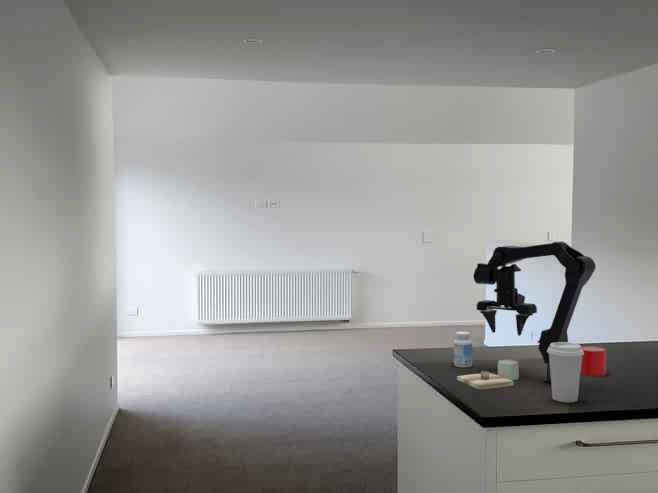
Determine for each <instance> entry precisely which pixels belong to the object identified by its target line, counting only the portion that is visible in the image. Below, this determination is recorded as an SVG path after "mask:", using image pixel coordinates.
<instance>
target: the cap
mask: <svg viewBox="0 0 658 493" xmlns="http://www.w3.org/2000/svg"><path fill="white" fill-rule="evenodd" d="M519 364H520V363H519V361H517V360H515V359H514V360H513V359H500V360H498V363H497V375H498V376H501V377H504V378H506V379H509V380H512V381H516V380H517V381H518V380H519V379H520V378H519V377H520V372H519V368H520V365H519Z"/></svg>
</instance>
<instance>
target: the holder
mask: <svg viewBox="0 0 658 493" xmlns="http://www.w3.org/2000/svg"><path fill="white" fill-rule="evenodd" d="M456 380H457V381H458V382H461V383H463V384H465V385H467V386H470V387H472V388H474V389H478V390H479V391H482V390H488V389H497V388H503V387H504V388H505V387H511V386H512V387H513V386H514V385H515V380H509V379H506V378H504V377H501V376H498V374H495V373H493V372H490V371H487V370H486V371H483V370H481V371H480V372H479V373H473V374H472V373H471V374H466V375H465V374H463V375H457V376H456Z"/></svg>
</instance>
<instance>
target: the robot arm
mask: <svg viewBox="0 0 658 493" xmlns="http://www.w3.org/2000/svg"><path fill="white" fill-rule="evenodd" d="M548 256H554V257H555V258H556V259H557V260H558V262H559V264H560V265H562V266H563V268H565V270H564V279H565V286H564V288H563V291H562V293H561V297H560V300H559V303H558V306H557V308H556V310H555V314H554V317H553V321H552V323H551V325H550V327H549V328H547V329H544V330H541V333H540V337H539V340H538V341H537V343H538V350H539V352H540V354H541V356H542V359H543V363H544V364H547V365H546V378H543V380H542V381H543V382H545V383H548V384H551V373H550V361H549V353H548V352H547V350H548V348H549V347H550V344H551V343H555V342H568V341H569V337H568V335H569V334H568V329H569V326H570V323H571V321H572V318H573V315H574V312H575V310H576V306H577V305H578V304H577V303H578V301H579V298H580V296H581V293H582V289H583V287H584V286H585V285H586V284H587V283H588V282H589V281H590V279H591V277H592V276H593V274H594V272H595V270H596V263H595V261H594V260H593V258H591V257H590V256H588V255H584V254H583V253H582V252H580V251H579V250H577V249H575V248H573V247H572V246H570V245H569V244H568V243H566V242H564V241H554V242H552V243H550V242H549V243H544V244H538V245H530V246H529V245H528V246H519V245H518V246H516V245H515V246H514V245H504V246H498V247H496V248H494V250H493V252H492V256H491V257H490V259H489V260H488V262H487V263H481V262H480V263H477V265H476V268H475V269H474V272H473V280H474V282H475V283H476V284H478V285H490V286H491V285H492V286H493V285H495V286H496V288H494V289H493V290H494V291H493V292H494V293H496V301H495V300H489V299H485V300H480V301H478V302H477V303H476V311H479V313H480V314H482V316H483V317H484V319H485V321H486V322H487V324H488V326H489V329H490V331H491V333H493V334H494V333H495V332H496V316H497V312H498V310H503V311H514V312H516V313H517V314H515V322H516V332H517V336H518V337H519V336H522V334H523V330H524V328H525V324H526V322H527V320H528V319H529V317H531V316H533V314H536V313H538V307H537V306H536V305H537V304H535V303H526V302H525V301H526V296H525V295H524V294H521V293H519V292H518V290H519V289H518V288H517V287H516V279H515V278H516V277H515V275H516V274H515V272H521V271H522V269H521V268H520V266H518V265H517V264H516V263H517V262H518V263H519V262H520V261H523V260H526V259H531V258H540V257H548ZM509 264H510V265H509ZM568 343H569V342H568Z"/></svg>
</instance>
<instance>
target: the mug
mask: <svg viewBox="0 0 658 493" xmlns="http://www.w3.org/2000/svg"><path fill="white" fill-rule="evenodd" d="M581 349H582V350H583V352H584V355H582V361H581V370H580V375H583V376H590V377H602V376H605V375H606V373H607V372H606V368H607V367H606V366H607V364H606V363H607V358H606V357H607V356H606V355H607V349H606V348H605V347H601V346H594V345H586V346H585V345H584V346H581Z"/></svg>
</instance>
